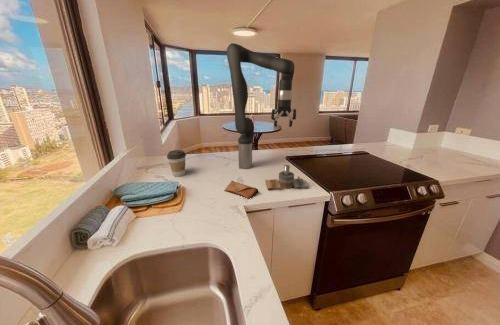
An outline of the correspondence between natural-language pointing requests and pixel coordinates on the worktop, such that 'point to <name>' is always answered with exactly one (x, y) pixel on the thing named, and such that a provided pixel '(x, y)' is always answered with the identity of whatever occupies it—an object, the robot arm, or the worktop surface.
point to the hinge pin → (286, 170)
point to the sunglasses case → (241, 190)
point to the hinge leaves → (286, 182)
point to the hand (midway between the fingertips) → (282, 126)
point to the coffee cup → (177, 162)
